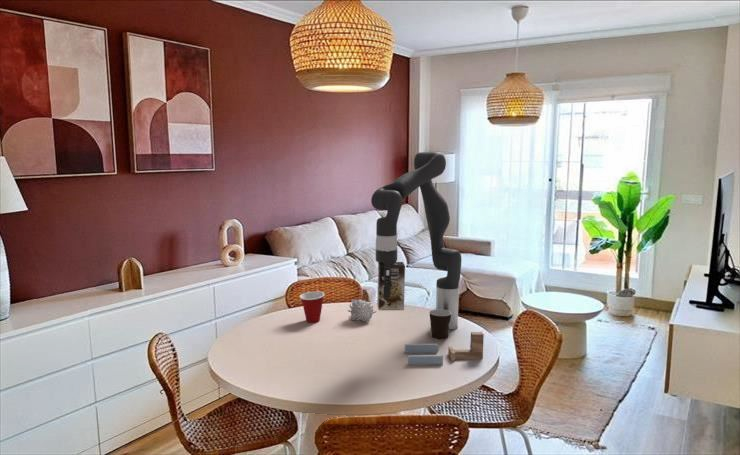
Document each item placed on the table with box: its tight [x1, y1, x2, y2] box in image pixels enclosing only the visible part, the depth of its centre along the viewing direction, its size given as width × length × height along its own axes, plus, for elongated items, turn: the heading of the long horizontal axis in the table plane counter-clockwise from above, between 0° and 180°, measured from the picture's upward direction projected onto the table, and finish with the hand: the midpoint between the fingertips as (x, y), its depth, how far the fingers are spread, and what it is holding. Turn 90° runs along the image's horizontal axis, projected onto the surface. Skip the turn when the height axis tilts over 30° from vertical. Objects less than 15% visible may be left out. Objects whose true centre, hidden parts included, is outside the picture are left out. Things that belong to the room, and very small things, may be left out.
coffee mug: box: [428, 308, 451, 341], centre depth 206 cm, size 12×9×10 cm
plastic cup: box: [299, 290, 325, 324], centre depth 224 cm, size 11×11×12 cm
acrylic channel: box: [404, 343, 444, 366], centre depth 184 cm, size 12×12×3 cm
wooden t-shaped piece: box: [447, 331, 485, 362], centre depth 185 cm, size 6×12×9 cm, turn 92°
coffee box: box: [376, 261, 406, 311], centre depth 180 cm, size 9×6×16 cm
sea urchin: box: [347, 298, 378, 323], centre depth 224 cm, size 12×11×12 cm
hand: (386, 294), depth 181 cm, fingers closed on coffee box, 6 cm apart
